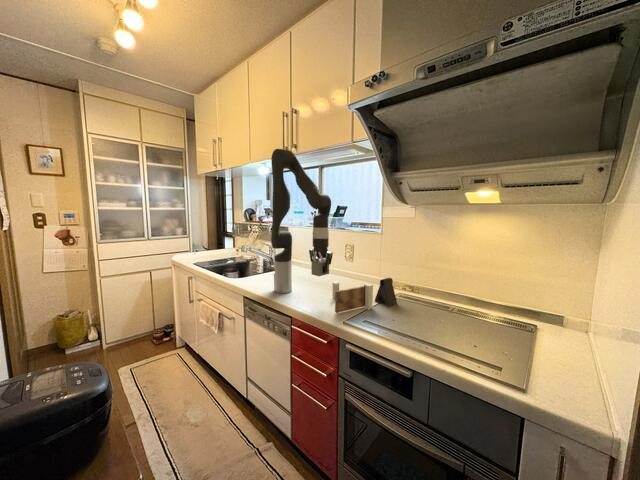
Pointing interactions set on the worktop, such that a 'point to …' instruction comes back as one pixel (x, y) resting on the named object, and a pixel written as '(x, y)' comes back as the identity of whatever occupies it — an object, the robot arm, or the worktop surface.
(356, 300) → the door
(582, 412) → the worktop surface
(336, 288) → the post
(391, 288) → the door stopper
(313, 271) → the block
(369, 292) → the hinge post
